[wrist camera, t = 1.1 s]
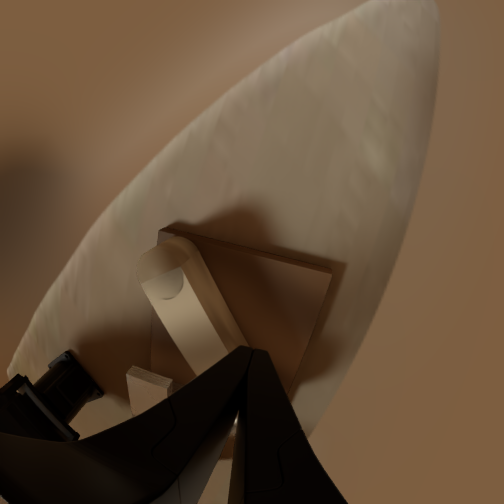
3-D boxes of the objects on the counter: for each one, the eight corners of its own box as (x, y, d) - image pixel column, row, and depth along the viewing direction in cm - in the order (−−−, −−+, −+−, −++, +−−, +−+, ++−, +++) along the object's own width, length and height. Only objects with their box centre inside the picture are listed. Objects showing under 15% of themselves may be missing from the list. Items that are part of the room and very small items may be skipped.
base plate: (267, 431, 24) (266, 439, 23) (155, 398, 25) (151, 404, 24) (331, 268, 18) (332, 274, 17) (164, 227, 19) (158, 230, 18)
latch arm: (287, 397, 20) (285, 425, 18) (238, 407, 22) (230, 433, 19) (197, 224, 18) (178, 236, 15) (144, 250, 19) (120, 265, 16)
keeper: (274, 359, 21) (265, 415, 16) (256, 417, 23) (245, 468, 18) (161, 329, 22) (126, 373, 16) (161, 391, 24) (136, 433, 19)
